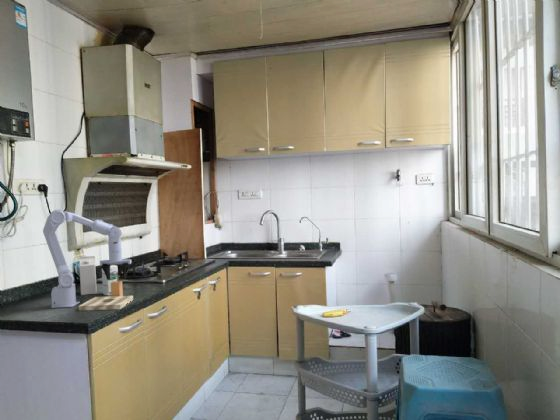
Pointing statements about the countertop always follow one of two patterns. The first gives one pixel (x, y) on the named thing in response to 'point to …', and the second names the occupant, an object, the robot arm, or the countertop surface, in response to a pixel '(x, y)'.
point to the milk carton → (87, 275)
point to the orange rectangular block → (116, 288)
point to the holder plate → (106, 303)
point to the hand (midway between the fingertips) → (116, 279)
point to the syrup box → (112, 278)
